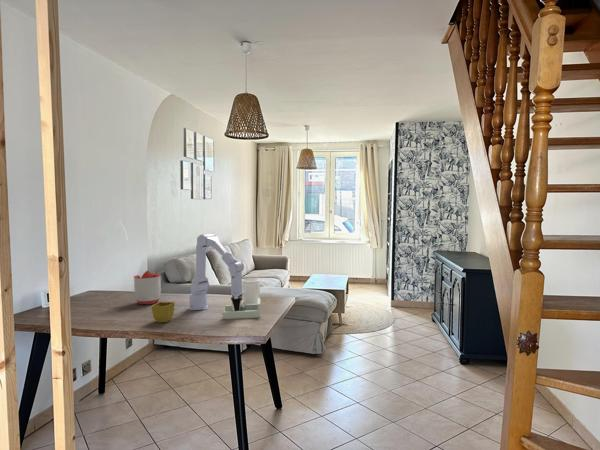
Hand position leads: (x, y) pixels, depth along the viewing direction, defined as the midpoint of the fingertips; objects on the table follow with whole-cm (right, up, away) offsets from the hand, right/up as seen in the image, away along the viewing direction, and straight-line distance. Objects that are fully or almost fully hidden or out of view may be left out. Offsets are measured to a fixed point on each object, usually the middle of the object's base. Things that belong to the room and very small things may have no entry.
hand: (237, 309), depth 214 cm
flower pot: (-36, -4, -10) cm, 38 cm away
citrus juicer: (-60, -3, +31) cm, 68 cm away
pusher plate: (+4, -3, 0) cm, 4 cm away
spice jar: (0, -3, 0) cm, 3 cm away
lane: (+2, -3, 0) cm, 4 cm away
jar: (+5, -2, +22) cm, 22 cm away
